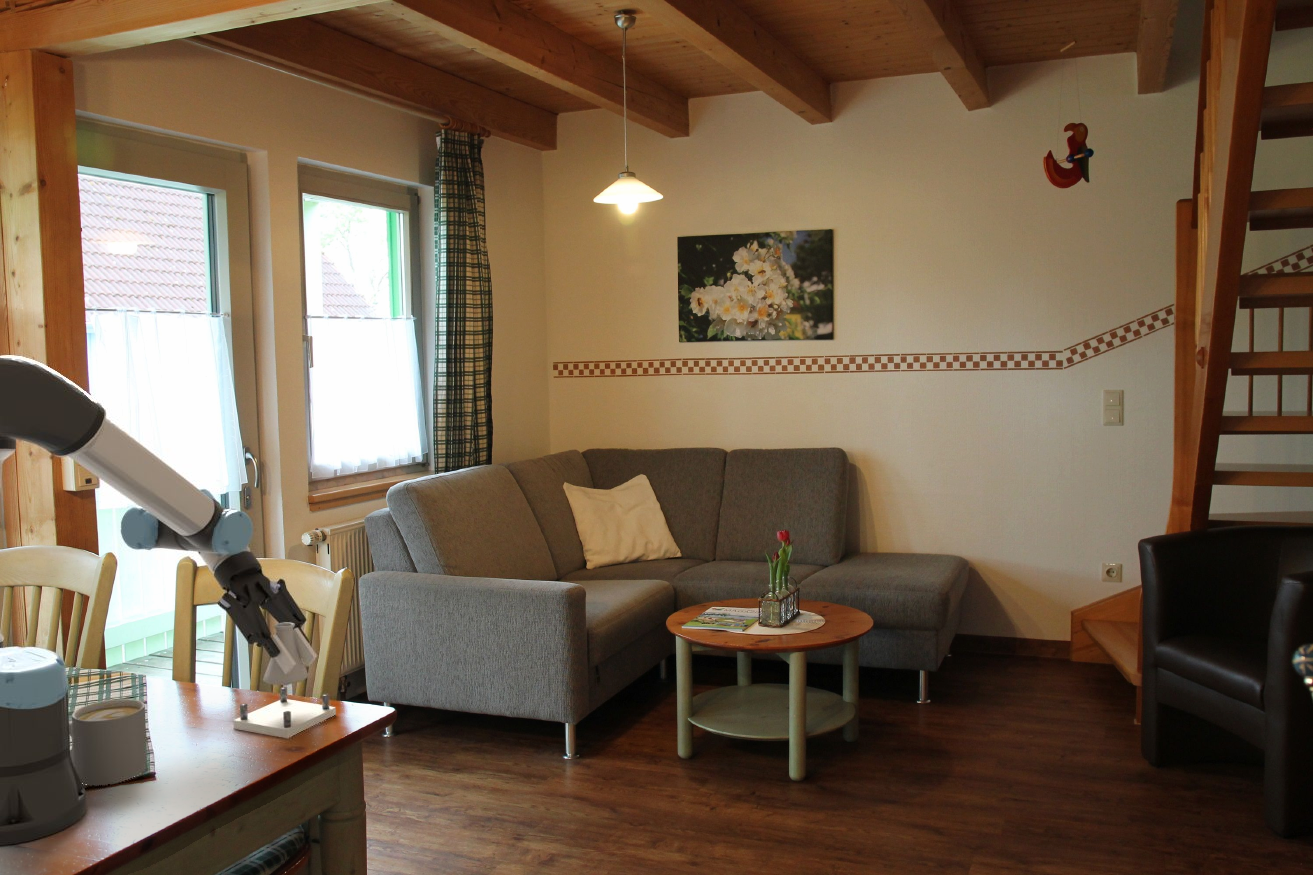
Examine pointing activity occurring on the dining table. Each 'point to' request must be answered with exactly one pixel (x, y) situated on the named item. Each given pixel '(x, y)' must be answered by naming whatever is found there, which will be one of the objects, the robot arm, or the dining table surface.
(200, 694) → the dining table surface
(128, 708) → the coffee mug
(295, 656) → the flask
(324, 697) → the pegs
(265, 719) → the plate
